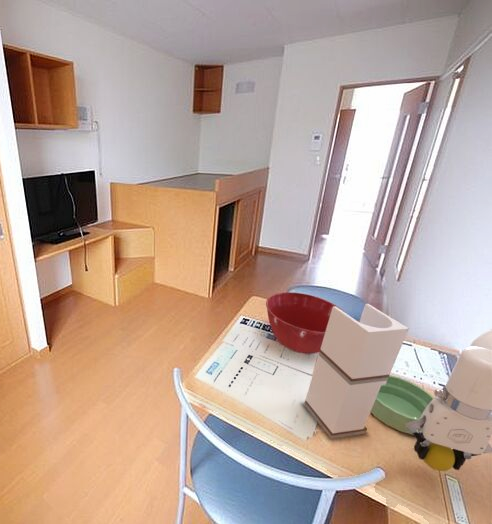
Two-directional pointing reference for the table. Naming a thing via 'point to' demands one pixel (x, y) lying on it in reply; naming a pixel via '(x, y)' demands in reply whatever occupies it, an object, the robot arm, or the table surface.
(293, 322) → the mixing bowl
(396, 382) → the green bowl
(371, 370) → the tall white box
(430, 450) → the lemon
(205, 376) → the table surface
